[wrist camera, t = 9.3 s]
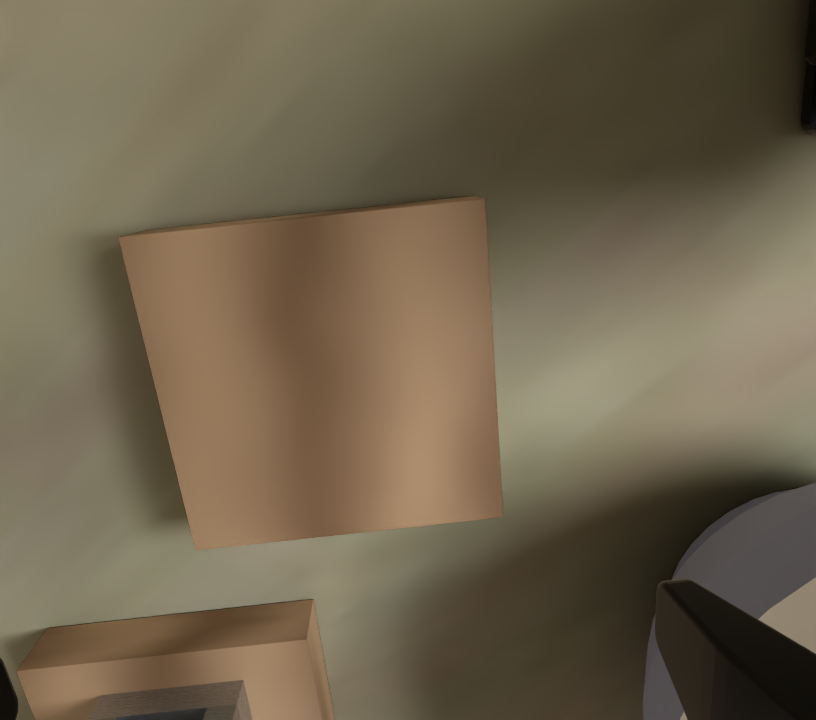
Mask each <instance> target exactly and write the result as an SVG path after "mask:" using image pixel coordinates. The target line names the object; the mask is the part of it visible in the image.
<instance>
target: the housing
mask: <svg viewBox="0 0 816 720" xmlns="http://www.w3.org/2000/svg"><path fill="white" fill-rule="evenodd" d="M88 720H253V719H252V714H251V710H250V706H249V701H248V697H247V693H246V688H245V684H244V680H237V681H228V682H218V683H209V684H200V685H190V686H181V687H172V688H162V689H153V690H144V691H135V692H125V693H116V694H107V695H101V697H100V698H99V700H98V702H97V704H96V706H95V708H94V710H93V711H92V713H91V715H90V717H89V719H88Z"/></svg>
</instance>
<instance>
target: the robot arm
mask: <svg viewBox="0 0 816 720" xmlns="http://www.w3.org/2000/svg"><path fill="white" fill-rule="evenodd" d="M805 57H806V59H807V62H806V72H805V82H804V92H803V102H802V112H801V125H802V127H803V129H804V130H805V131H806V132H807V133H809V134H815V135H816V0H810V7H809V18H808V28H807V38H806V48H805ZM655 637H656V642H657V645H658V648H659V651H660V653H661V656H662V658H663V661H664V663H665V666H666V668H667V671H668V673H669V676H670V678H671V680H672V683H673V685H674V688H675V690H676V693H677V695H678V698H679V700H680V702H681V705H682V707H683V710H684V712H685V715H686V717H687V720H816V653H814V652H812V651H811V650H809V649H807V648H806V647H804V646H802V645H800V644H799V643H797V642H795V641H794V640H792V639H790V638H789V637H787V636H785V635H784V634H782V633H780V632H779V631H777V630H775V629H773V628H772V627H770V626H768V625H767V624H765V623H763V622H762V621H760V620H758V619H757V618H755V617H753V616H752V615H750V614H748V613H746V612H745V611H743V610H741V609H740V608H738V607H736V606H735V605H733V604H731V603H730V602H728V601H726V600H725V599H723V598H721V597H719V596H718V595H716V594H714V593H713V592H711V591H709V590H708V589H706V588H704V587H703V586H701V585H699V584H698V583H696V582H694V581H692V580H690V579H677V580H667V581H662V582H660V583H659V584H658V586H657V589H656V607H655ZM17 713H18V699H17V695H16V693H15V690H14V688H13V685H12V683H11V680H10V677H9V675H8V672H7V670H6V667H5V665H4V662H3V660H2V659H1V658H0V720H16V717H17Z"/></svg>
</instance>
